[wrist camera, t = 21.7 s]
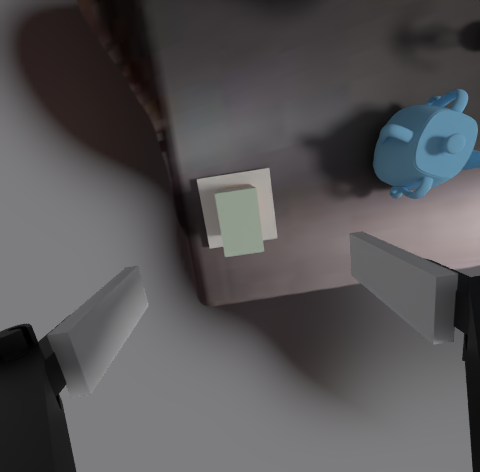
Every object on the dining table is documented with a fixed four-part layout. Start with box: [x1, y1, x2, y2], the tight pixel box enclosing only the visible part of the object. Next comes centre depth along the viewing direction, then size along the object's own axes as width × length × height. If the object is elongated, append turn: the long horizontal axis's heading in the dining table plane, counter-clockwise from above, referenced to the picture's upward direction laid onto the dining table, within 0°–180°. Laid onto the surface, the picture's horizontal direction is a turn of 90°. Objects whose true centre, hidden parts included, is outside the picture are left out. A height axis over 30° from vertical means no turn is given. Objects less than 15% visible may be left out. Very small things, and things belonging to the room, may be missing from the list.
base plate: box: [197, 168, 277, 248], centre depth 42 cm, size 12×12×1 cm
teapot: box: [372, 89, 480, 199], centre depth 36 cm, size 13×14×11 cm
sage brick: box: [215, 186, 264, 257], centre depth 33 cm, size 8×5×6 cm, turn 8°
